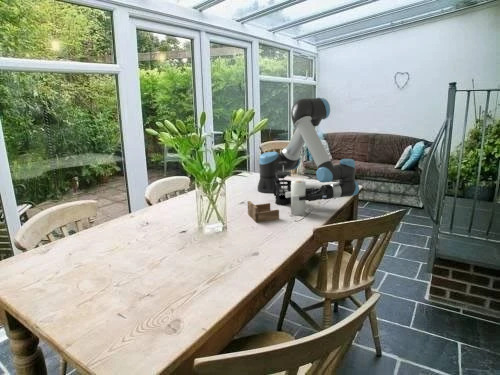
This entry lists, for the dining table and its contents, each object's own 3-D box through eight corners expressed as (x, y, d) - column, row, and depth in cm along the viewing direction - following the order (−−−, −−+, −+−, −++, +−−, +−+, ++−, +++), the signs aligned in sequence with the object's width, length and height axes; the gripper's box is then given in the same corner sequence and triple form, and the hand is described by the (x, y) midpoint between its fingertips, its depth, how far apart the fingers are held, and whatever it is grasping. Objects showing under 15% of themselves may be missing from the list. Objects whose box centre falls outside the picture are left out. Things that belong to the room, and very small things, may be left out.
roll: (288, 211, 171) (288, 180, 167) (301, 210, 173) (301, 179, 169) (294, 216, 165) (294, 184, 161) (307, 214, 167) (308, 182, 163)
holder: (248, 214, 170) (247, 201, 168) (269, 211, 173) (269, 198, 171) (256, 222, 158) (255, 208, 156) (279, 219, 162) (278, 205, 160)
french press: (296, 202, 185) (296, 161, 180) (285, 206, 179) (284, 164, 173) (280, 198, 194) (280, 159, 188) (269, 202, 188) (268, 161, 182)
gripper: (340, 203, 164) (297, 210, 157) (320, 193, 182) (281, 198, 175) (341, 188, 162) (297, 194, 155) (320, 180, 180) (280, 185, 173)
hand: (289, 197), depth 165 cm, fingers closed on roll, 7 cm apart
